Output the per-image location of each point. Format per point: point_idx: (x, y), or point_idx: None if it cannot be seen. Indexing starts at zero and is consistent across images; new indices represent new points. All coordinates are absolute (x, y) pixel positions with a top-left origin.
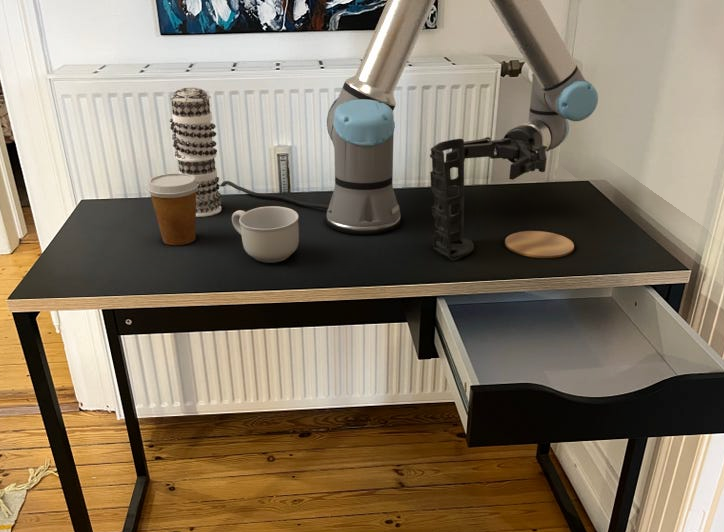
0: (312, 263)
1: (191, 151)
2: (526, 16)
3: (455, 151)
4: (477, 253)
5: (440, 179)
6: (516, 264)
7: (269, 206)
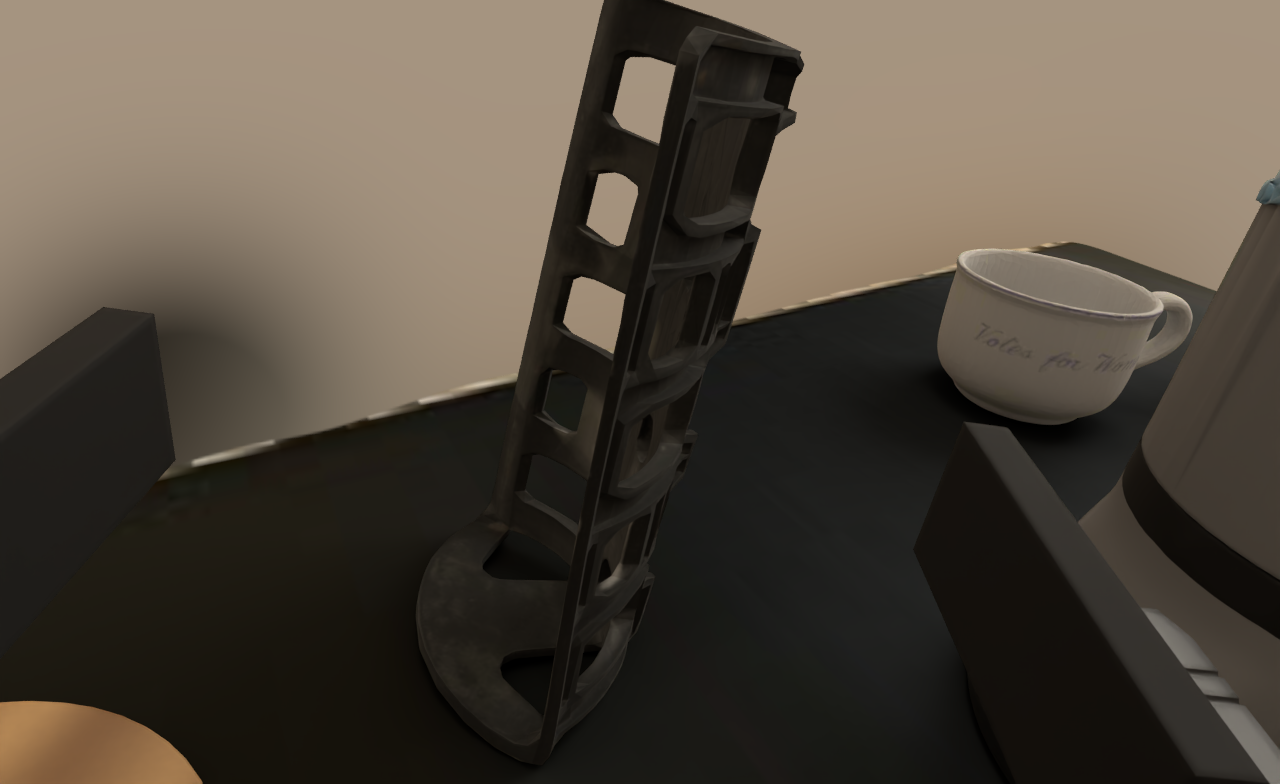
0: (883, 397)
1: None
2: None
3: (1030, 516)
4: (386, 639)
5: (611, 164)
6: (136, 598)
7: (1154, 310)
